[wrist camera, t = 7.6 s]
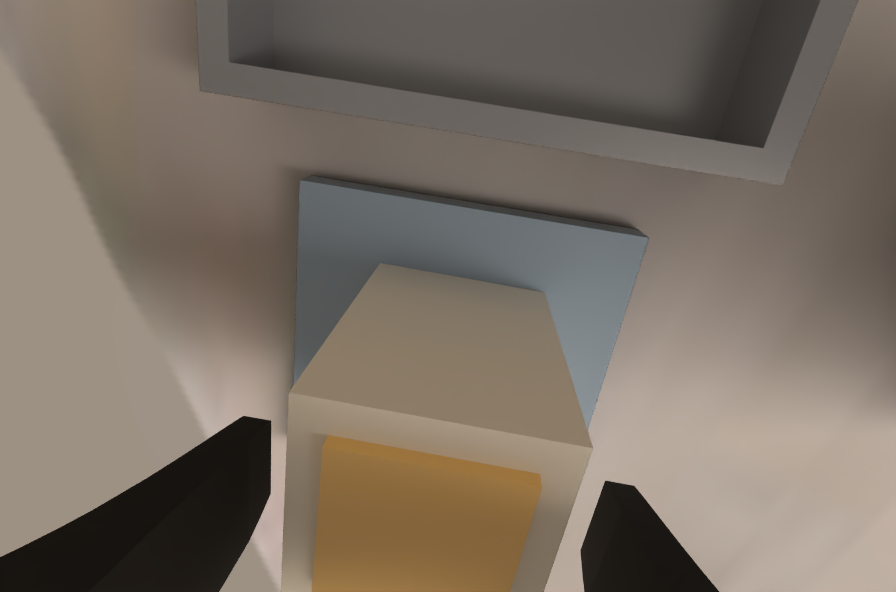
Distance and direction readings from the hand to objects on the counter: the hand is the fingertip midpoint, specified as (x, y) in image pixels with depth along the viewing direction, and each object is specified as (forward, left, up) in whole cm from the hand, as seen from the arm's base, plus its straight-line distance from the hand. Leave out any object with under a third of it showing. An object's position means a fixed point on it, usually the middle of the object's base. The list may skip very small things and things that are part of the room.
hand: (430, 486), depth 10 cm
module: (0, 0, -6) cm, 6 cm away
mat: (0, 0, -7) cm, 7 cm away
